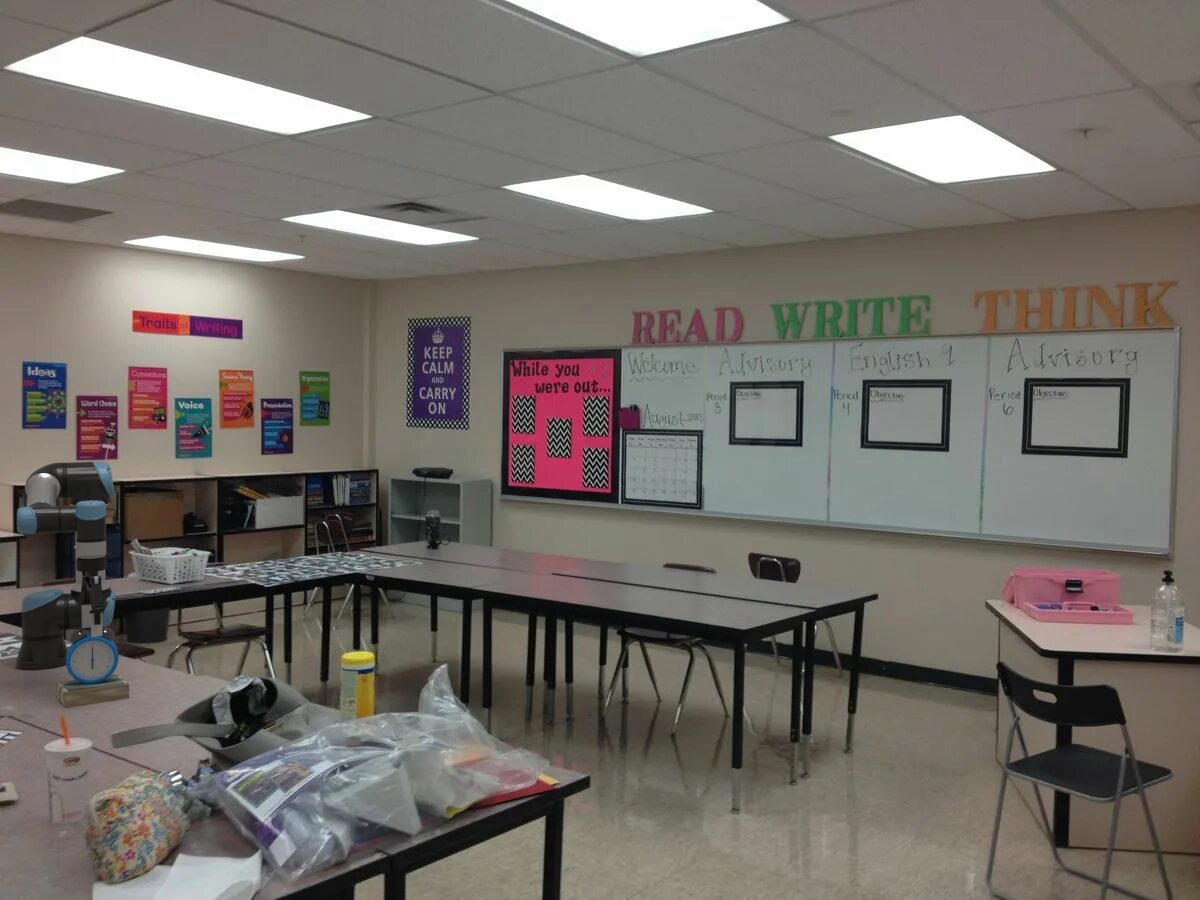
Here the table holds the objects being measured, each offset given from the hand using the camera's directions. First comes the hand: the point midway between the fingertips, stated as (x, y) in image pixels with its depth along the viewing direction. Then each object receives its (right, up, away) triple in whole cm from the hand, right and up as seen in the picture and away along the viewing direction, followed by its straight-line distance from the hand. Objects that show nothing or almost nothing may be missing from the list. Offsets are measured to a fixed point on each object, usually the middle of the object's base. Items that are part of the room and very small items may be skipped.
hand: (92, 631), depth 286 cm
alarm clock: (0, -14, 0) cm, 14 cm away
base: (0, -18, 0) cm, 18 cm away
